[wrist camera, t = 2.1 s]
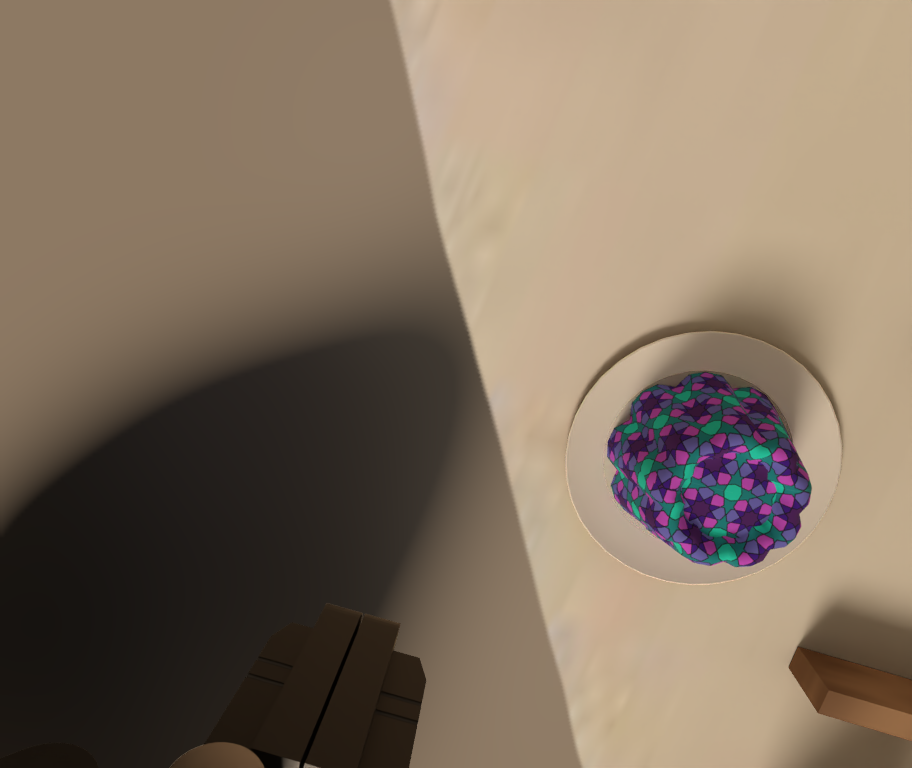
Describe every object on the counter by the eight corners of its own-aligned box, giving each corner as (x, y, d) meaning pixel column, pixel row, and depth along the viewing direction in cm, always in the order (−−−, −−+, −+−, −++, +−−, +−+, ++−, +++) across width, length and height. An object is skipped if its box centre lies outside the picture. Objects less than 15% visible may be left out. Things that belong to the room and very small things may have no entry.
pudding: (596, 305, 27) (614, 316, 22) (871, 358, 26) (955, 382, 21) (539, 546, 30) (543, 606, 25) (787, 601, 29) (844, 674, 24)
